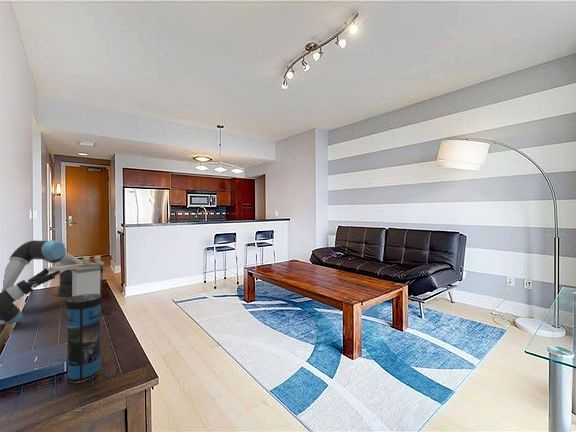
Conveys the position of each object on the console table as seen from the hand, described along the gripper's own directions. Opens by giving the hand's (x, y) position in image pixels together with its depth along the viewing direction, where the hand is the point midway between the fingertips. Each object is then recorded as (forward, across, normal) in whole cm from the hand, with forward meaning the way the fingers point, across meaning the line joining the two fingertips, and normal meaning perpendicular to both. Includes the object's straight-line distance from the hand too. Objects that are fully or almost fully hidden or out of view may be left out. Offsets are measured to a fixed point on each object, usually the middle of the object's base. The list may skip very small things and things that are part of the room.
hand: (63, 265), depth 168 cm
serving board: (+5, 0, -6) cm, 8 cm away
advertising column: (-22, +80, -23) cm, 86 cm away
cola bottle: (+5, -27, -38) cm, 47 cm away
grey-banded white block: (-5, 0, -32) cm, 33 cm away
